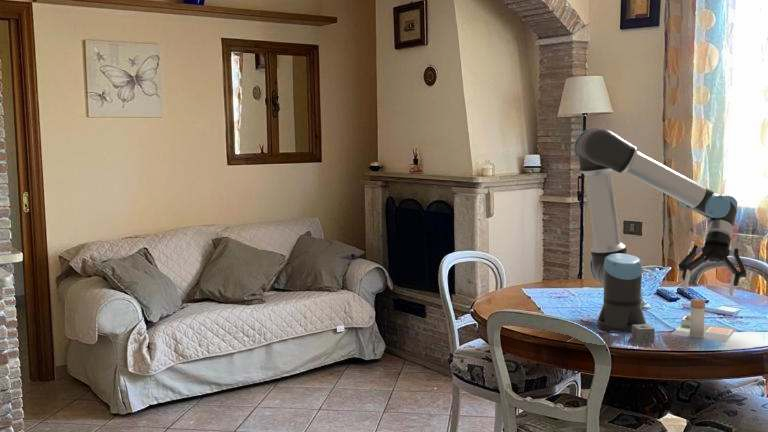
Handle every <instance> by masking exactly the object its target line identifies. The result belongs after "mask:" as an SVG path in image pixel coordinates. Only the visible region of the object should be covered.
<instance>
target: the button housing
mask: <svg viewBox="0 0 768 432" xmlns="http://www.w3.org/2000/svg"><path fill="white" fill-rule="evenodd" d="M686 317H687V315H685V316H683V318H681V320H680V321H681V322H680V323H681V324H680V325H681V326H684V327H690V320H686Z"/></svg>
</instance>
